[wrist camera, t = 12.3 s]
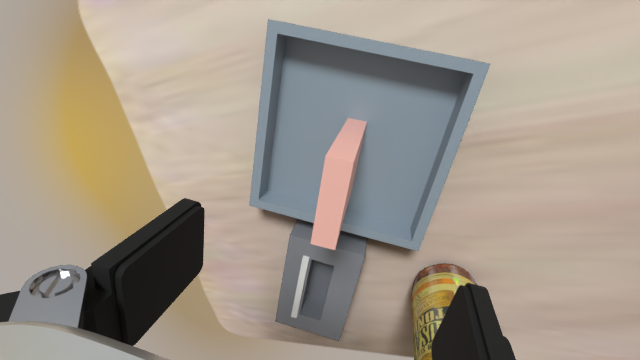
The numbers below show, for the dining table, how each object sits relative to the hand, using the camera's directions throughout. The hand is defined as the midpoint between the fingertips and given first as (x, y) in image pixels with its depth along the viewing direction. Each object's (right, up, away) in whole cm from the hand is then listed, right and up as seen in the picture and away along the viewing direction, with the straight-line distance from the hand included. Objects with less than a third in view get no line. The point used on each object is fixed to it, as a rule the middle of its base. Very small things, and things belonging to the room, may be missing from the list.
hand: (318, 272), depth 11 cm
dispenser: (0, -6, +23) cm, 24 cm away
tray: (+3, +7, +17) cm, 18 cm away
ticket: (+3, +6, +16) cm, 18 cm away
